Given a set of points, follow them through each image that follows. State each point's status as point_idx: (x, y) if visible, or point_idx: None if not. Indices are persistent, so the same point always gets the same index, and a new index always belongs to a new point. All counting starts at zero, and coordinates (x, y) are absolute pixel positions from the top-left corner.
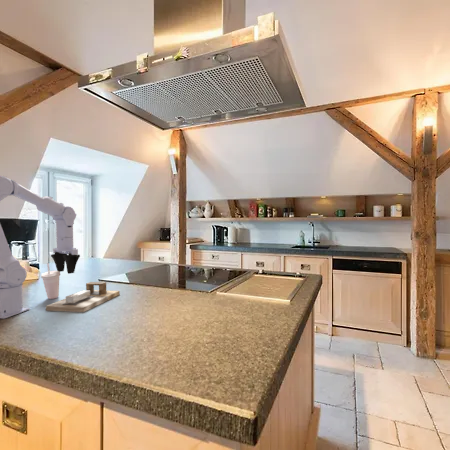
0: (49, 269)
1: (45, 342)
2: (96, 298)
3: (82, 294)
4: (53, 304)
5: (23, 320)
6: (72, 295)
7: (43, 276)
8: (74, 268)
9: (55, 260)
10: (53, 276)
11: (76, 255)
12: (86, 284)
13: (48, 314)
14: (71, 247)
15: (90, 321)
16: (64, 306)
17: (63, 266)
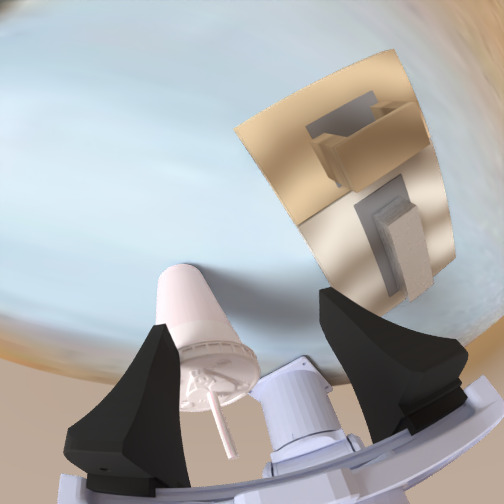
0: (223, 415)
1: (476, 325)
2: (424, 186)
3: (424, 246)
4: None
5: None
6: (417, 282)
7: (230, 403)
8: (352, 304)
9: (181, 444)
10: (257, 371)
11: (456, 377)
12: (356, 190)
13: (388, 320)
14: (408, 501)
15: (486, 260)
16: None
17: (160, 352)
